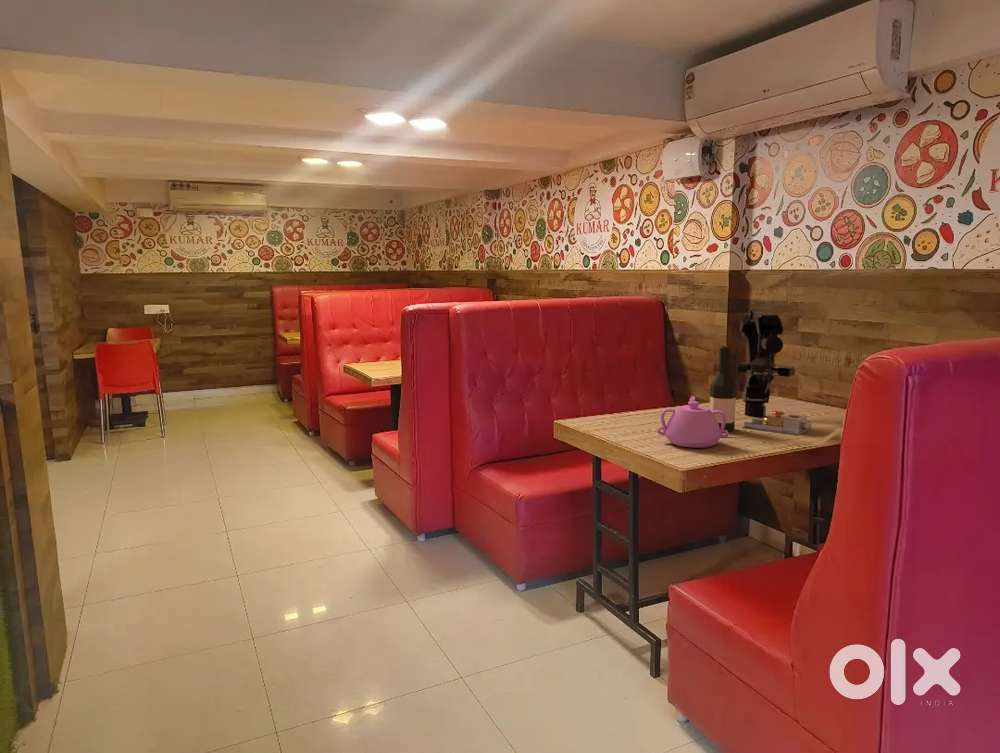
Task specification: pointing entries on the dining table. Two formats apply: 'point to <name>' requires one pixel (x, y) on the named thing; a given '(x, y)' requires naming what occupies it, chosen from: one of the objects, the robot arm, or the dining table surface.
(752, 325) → the robot arm
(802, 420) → the grey metal channel
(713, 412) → the purple lidded pot
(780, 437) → the dining table surface
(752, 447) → the dining table surface
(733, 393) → the wine bottle
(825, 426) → the dining table surface
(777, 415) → the valve
